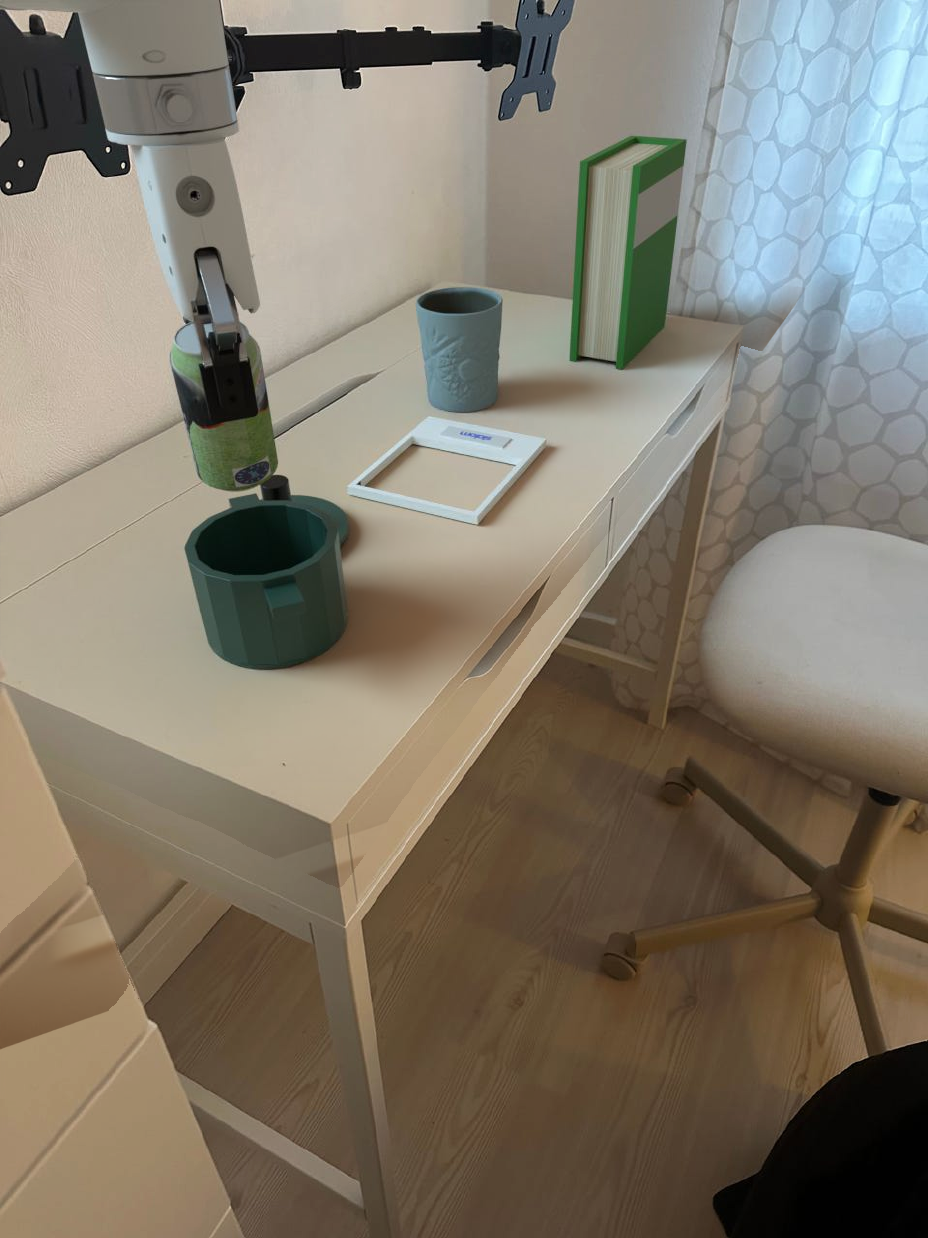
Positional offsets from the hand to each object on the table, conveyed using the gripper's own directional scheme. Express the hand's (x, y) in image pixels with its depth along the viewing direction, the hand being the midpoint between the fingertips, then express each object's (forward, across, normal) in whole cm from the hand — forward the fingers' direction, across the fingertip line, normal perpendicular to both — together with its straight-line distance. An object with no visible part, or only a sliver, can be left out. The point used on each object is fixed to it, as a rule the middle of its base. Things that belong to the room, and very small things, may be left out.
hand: (225, 397), depth 63 cm
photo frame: (+20, +18, -24) cm, 36 cm away
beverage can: (+7, +1, 0) cm, 7 cm away
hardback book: (+20, +43, -58) cm, 75 cm away
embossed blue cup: (+20, +35, -32) cm, 52 cm away
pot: (+20, 0, -1) cm, 20 cm away
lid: (+19, +13, -4) cm, 24 cm away
